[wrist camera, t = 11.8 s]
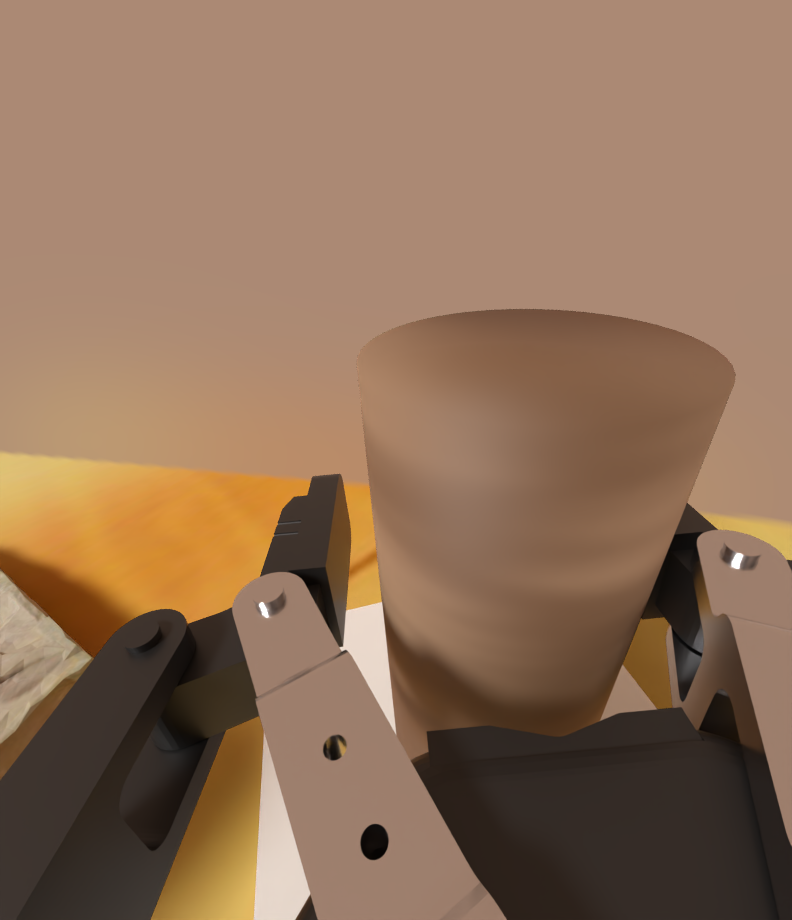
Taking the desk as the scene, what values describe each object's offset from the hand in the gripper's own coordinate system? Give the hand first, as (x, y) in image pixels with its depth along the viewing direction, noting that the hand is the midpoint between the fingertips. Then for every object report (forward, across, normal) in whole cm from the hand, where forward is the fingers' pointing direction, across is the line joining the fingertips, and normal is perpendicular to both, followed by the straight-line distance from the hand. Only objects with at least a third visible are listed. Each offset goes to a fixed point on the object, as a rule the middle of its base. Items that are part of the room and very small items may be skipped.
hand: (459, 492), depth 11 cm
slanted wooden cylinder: (-2, 0, +9) cm, 10 cm away
